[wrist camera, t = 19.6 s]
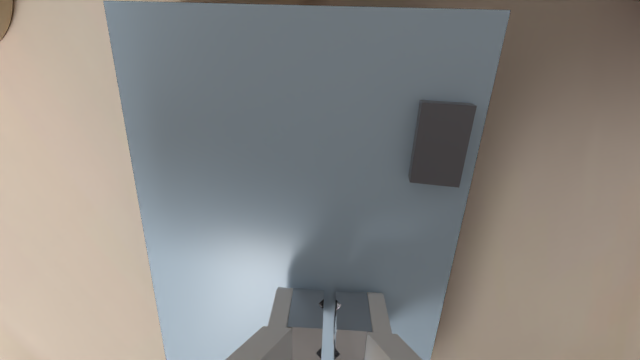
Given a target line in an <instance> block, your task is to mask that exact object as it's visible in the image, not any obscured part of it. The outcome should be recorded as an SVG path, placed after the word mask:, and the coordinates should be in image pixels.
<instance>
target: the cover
mask: <svg viewBox="0 0 640 360" xmlns="http://www.w3.org/2000/svg"><path fill="white" fill-rule="evenodd" d="M103 2H104V7H105V13H106V19H107V24H108V30H109V36H110V42H111V47H112V53H113V59H114V64H115V70H116V76H117V82H118V87H119V93H120V99H121V104H122V110H123V116H124V122H125V127H126V133H127V139H128V144H129V150H130V156H131V162H132V167H133V173H134V179H135V184H136V190H137V196H138V202H139V207H140V213H141V219H142V224H143V230H144V236H145V242H146V247H147V253H148V259H149V264H150V270H151V276H152V282H153V287H154V293H155V299H156V304H157V310H158V316H159V322H160V327H161V333H162V339H163V344H164V350H165V356H166V360H225V359H227V358H228V357H229V356H230V355H231V354H232V353H233V352H234V351H236V350H237V349H238V348H239V347H240V346H241V345H242V344H243V343H245V342H246V341H247V340H248V339H249V338H250V337H251V336H252V335H254V334H255V333H256V332H257V331H258V330H259V329H260V328H261V327H263V326H268V323H269V319H270V314H271V310H272V306H273V302H274V298H275V293H276V290H277V288H278V287H285V288H293V289H294V288H301V289H313V290H324V308H323V333H322V352H321V360H333V347H334V344H333V321H334V311H335V292H336V291H346V292H366V293H367V292H376V293H383V295H384V298H385V303H386V308H387V312H388V317H389V321H390V326H391V331H392V334H398V335H399V336H400V337H401V338H402V340H403V341H404V342H405V343H406V344H407V345H408V346H409V347H410V348H411V349H412V350H413V351H414V352H415V353H416V354H417V355H418V356H419V357H420V358H421V359H422V360H430V359H431V355H432V351H433V346H434V342H435V337H436V333H437V329H438V324H439V320H440V316H441V311H442V307H443V303H444V298H445V294H446V289H447V285H448V281H449V276H450V272H451V268H452V263H453V259H454V255H455V250H456V246H457V242H458V237H459V233H460V228H461V224H462V220H463V215H464V211H465V207H466V202H467V198H468V194H469V189H470V185H471V181H472V176H473V172H474V167H475V163H476V159H477V154H478V150H479V146H480V141H481V137H482V133H483V128H484V124H485V119H486V115H487V111H488V106H489V102H490V98H491V93H492V89H493V85H494V80H495V76H496V72H497V67H498V63H499V58H500V54H501V50H502V45H503V41H504V37H505V32H506V28H507V24H508V19H509V15H510V11H511V10H486V9H443V8H399V7H356V6H313V5H270V4H227V3H183V2H140V1H103Z"/></svg>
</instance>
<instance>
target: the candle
mask: <svg viewBox="0 0 640 360" xmlns="http://www.w3.org/2000/svg"><path fill="white" fill-rule="evenodd" d="M12 8H13V0H0V40H1V39H2V37H3V36H4V35H5V33H6V31H7V29H8V27H9V24H10V21H11V16H12Z"/></svg>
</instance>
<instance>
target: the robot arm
mask: <svg viewBox="0 0 640 360" xmlns="http://www.w3.org/2000/svg"><path fill="white" fill-rule="evenodd" d="M323 308H324V290H313V289H301V288H294V289H293V288H285V287H278V288H277V290H276V293H275V298H274V302H273V306H272V310H271V314H270V319H269V323H268V326H263V327H261V328H260V329H259V330H258V331H257V332H256V333H255V334H254V335H252V336H251V337H250V338H249V339H248V340H247V341H246V342H245V343H243V344H242V345H241V346H240V347H239V348H238V349H237V350H236V351H234V352H233V353H232V354H231V355H230V356H229V357H228V358H227V359H225V360H321V352H322V333H323ZM333 344H334V347H333V360H422V359H421V358H420V357H419V356H418V355H417V354H416V353H415V352H414V351H413V350H412V349H411V348H410V347H409V346H408V345H407V344H406V343H405V342H404V341H403V340H402V338H401V337H400V336H399V335H398V334H392V331H391V326H390V321H389V317H388V312H387V308H386V303H385V298H384V295H383V293H376V292H367V293H366V292H346V291H336V292H335V311H334V321H333Z"/></svg>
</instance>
